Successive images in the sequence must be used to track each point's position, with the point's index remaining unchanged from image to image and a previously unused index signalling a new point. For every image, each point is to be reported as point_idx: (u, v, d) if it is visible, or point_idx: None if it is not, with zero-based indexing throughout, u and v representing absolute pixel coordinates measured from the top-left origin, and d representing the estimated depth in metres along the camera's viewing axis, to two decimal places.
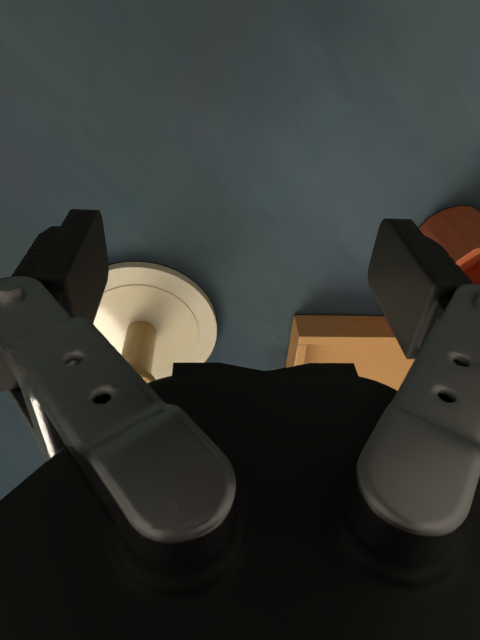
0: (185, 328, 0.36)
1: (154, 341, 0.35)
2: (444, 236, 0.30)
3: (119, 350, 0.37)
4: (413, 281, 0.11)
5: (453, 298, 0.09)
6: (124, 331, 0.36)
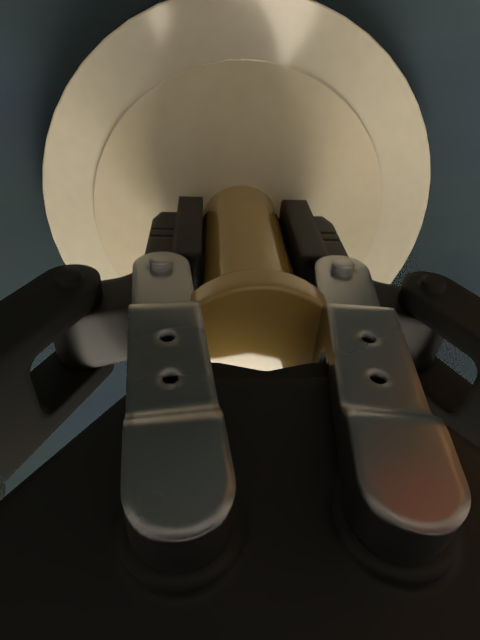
0: (320, 133, 0.13)
1: (266, 211, 0.13)
2: None
3: None
4: (293, 255, 0.11)
5: (317, 276, 0.10)
6: None
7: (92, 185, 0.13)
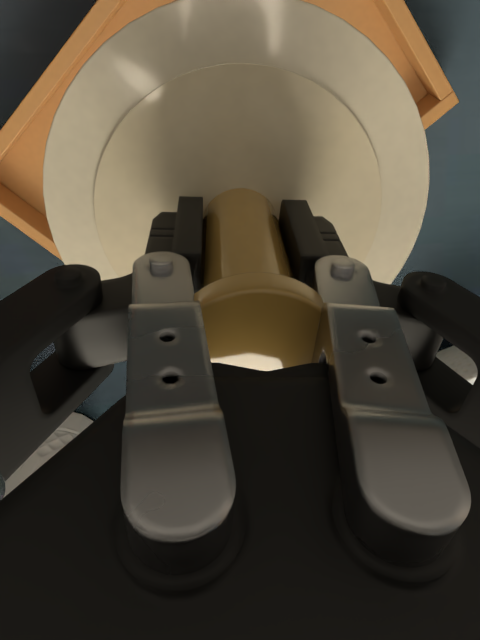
0: (319, 136, 0.13)
1: (266, 214, 0.13)
2: None
3: None
4: (293, 255, 0.11)
5: (317, 276, 0.10)
6: None
7: (92, 188, 0.13)
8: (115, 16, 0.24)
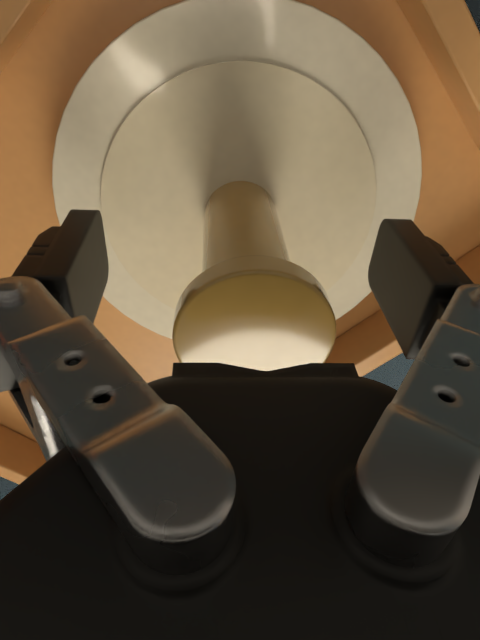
0: (316, 130, 0.13)
1: (265, 205, 0.13)
2: None
3: None
4: (413, 281, 0.11)
5: (453, 298, 0.09)
6: None
7: (99, 180, 0.14)
8: None
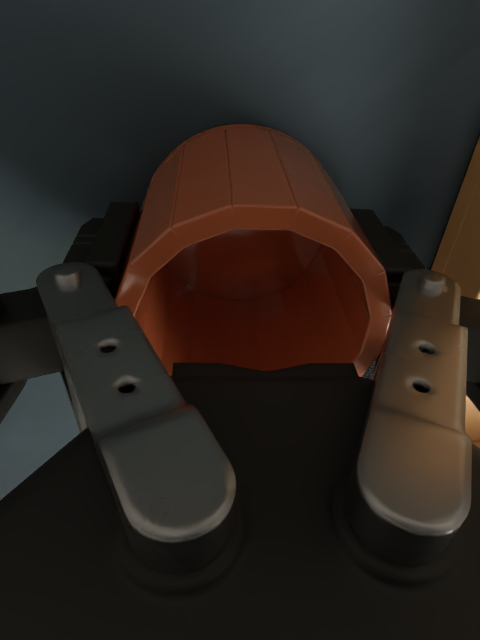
0: None
1: None
2: None
3: None
4: None
5: (401, 285, 0.09)
6: None
7: None
8: None
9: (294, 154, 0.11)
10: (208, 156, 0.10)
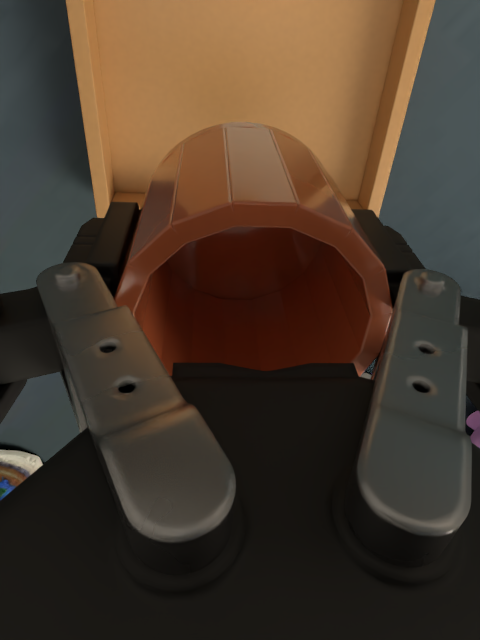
0: None
1: None
2: None
3: None
4: None
5: (401, 285, 0.09)
6: None
7: None
8: None
9: (294, 152, 0.11)
10: (208, 154, 0.10)
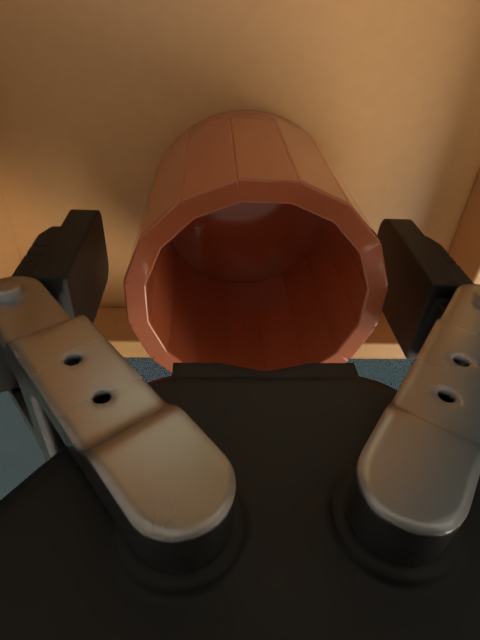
0: None
1: None
2: None
3: None
4: (413, 281, 0.11)
5: (453, 298, 0.09)
6: None
7: None
8: None
9: (296, 137, 0.12)
10: (214, 138, 0.11)
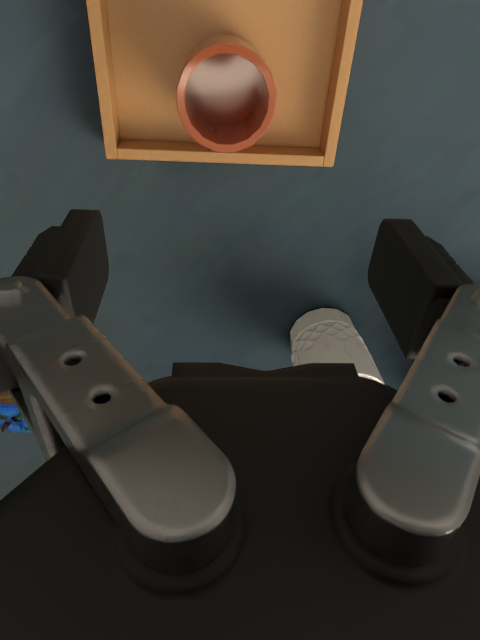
0: None
1: None
2: None
3: None
4: (413, 281, 0.11)
5: (453, 298, 0.09)
6: None
7: None
8: None
9: (243, 41, 0.28)
10: (210, 39, 0.28)
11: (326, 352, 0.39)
